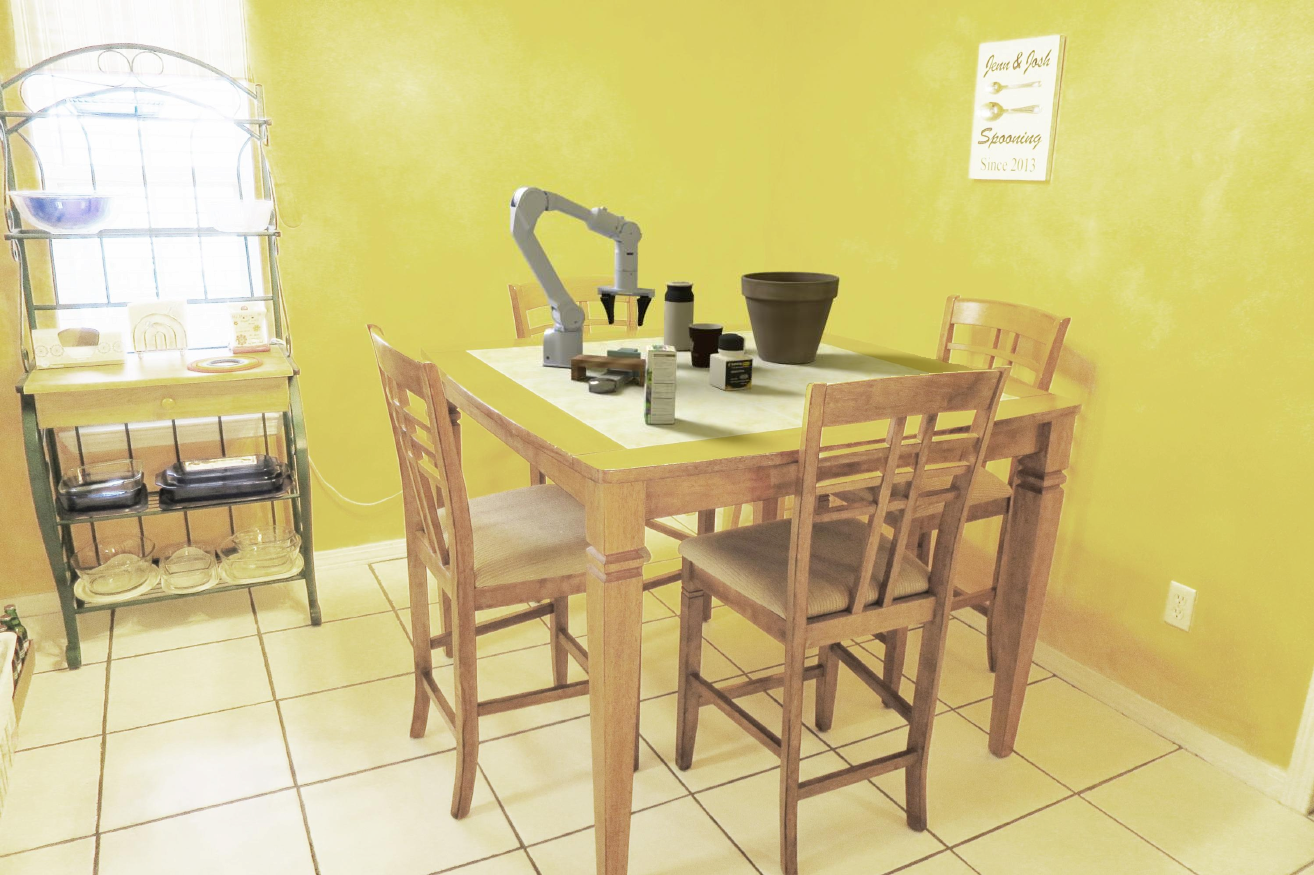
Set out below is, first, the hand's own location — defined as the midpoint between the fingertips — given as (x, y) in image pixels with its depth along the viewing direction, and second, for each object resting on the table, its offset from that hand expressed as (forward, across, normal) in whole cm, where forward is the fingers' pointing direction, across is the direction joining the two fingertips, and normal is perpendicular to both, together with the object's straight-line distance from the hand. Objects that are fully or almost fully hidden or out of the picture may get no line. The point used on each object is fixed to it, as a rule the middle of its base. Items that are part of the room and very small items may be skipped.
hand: (625, 324), depth 230 cm
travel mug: (+10, -8, -22) cm, 25 cm away
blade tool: (+10, -5, +21) cm, 23 cm away
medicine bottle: (+10, -31, +18) cm, 37 cm away
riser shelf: (+9, -4, +22) cm, 24 cm away
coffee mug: (+10, -20, -4) cm, 23 cm away
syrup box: (+10, -24, +52) cm, 58 cm away
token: (+10, -5, +32) cm, 34 cm away
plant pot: (+10, -38, -19) cm, 44 cm away
